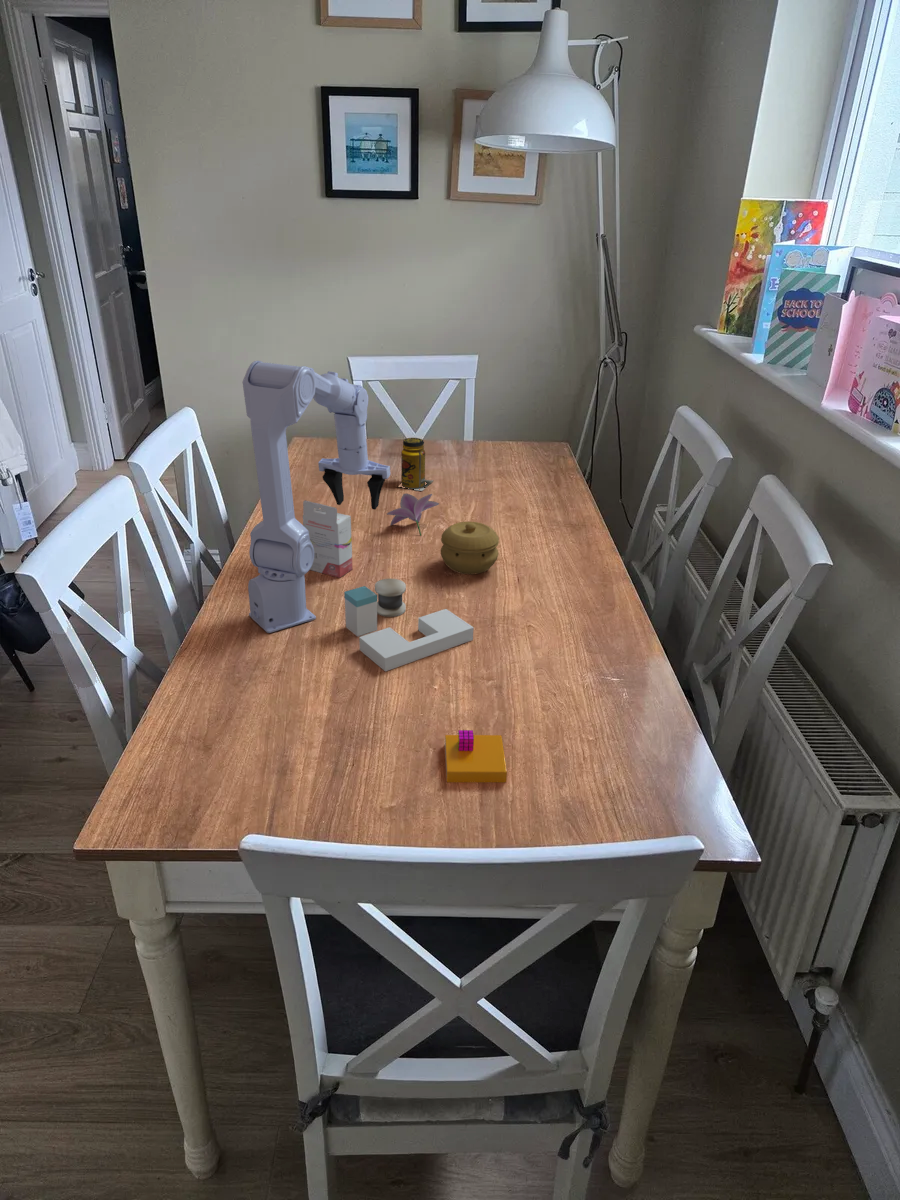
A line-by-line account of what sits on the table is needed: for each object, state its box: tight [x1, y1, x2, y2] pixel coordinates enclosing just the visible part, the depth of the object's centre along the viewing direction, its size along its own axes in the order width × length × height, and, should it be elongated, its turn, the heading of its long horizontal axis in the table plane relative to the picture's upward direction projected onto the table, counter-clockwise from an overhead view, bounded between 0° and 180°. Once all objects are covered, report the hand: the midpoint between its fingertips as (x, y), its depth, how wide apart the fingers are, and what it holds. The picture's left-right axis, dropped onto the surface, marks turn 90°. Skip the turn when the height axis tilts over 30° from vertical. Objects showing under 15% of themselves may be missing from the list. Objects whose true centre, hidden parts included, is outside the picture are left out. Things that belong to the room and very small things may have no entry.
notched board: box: [358, 608, 475, 672], centre depth 137 cm, size 18×8×2 cm, turn 127°
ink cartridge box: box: [302, 499, 353, 579], centre depth 159 cm, size 9×5×15 cm, turn 62°
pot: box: [440, 521, 500, 575], centre depth 163 cm, size 12×12×10 cm
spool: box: [374, 578, 407, 618], centre depth 148 cm, size 6×6×5 cm
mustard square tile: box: [444, 729, 508, 783], centre depth 110 cm, size 8×8×4 cm
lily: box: [386, 493, 440, 537], centre depth 180 cm, size 12×12×10 cm
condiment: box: [400, 437, 434, 492], centre depth 206 cm, size 7×8×12 cm
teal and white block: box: [343, 585, 378, 637], centre depth 141 cm, size 4×4×7 cm
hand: (357, 504), depth 166 cm, fingers open, 7 cm apart
